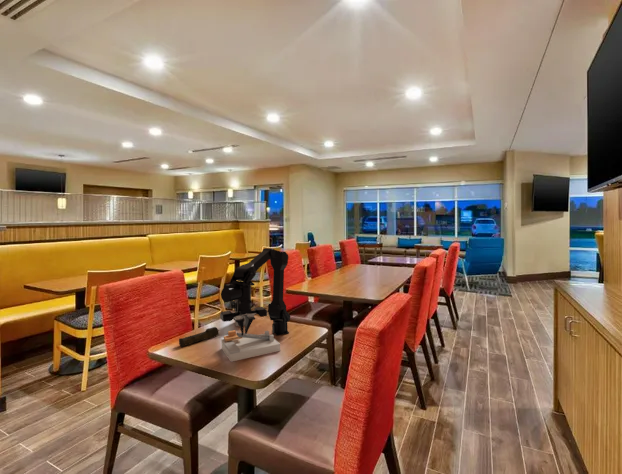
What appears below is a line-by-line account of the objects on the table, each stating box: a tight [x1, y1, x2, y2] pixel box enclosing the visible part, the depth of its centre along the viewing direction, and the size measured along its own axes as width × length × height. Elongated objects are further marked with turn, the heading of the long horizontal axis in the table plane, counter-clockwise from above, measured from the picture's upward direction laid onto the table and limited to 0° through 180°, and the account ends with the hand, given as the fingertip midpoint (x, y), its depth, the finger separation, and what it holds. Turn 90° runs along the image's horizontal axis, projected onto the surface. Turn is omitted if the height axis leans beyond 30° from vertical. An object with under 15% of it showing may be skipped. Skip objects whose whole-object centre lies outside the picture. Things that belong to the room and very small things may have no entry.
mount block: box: [220, 330, 281, 362], centre depth 141 cm, size 21×15×6 cm
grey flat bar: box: [236, 332, 269, 340], centre depth 141 cm, size 15×4×1 cm, turn 119°
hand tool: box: [178, 326, 220, 348], centre depth 152 cm, size 19×4×5 cm, turn 135°
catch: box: [223, 329, 243, 341], centre depth 143 cm, size 7×4×3 cm, turn 118°
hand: (244, 334), depth 139 cm, fingers closed
